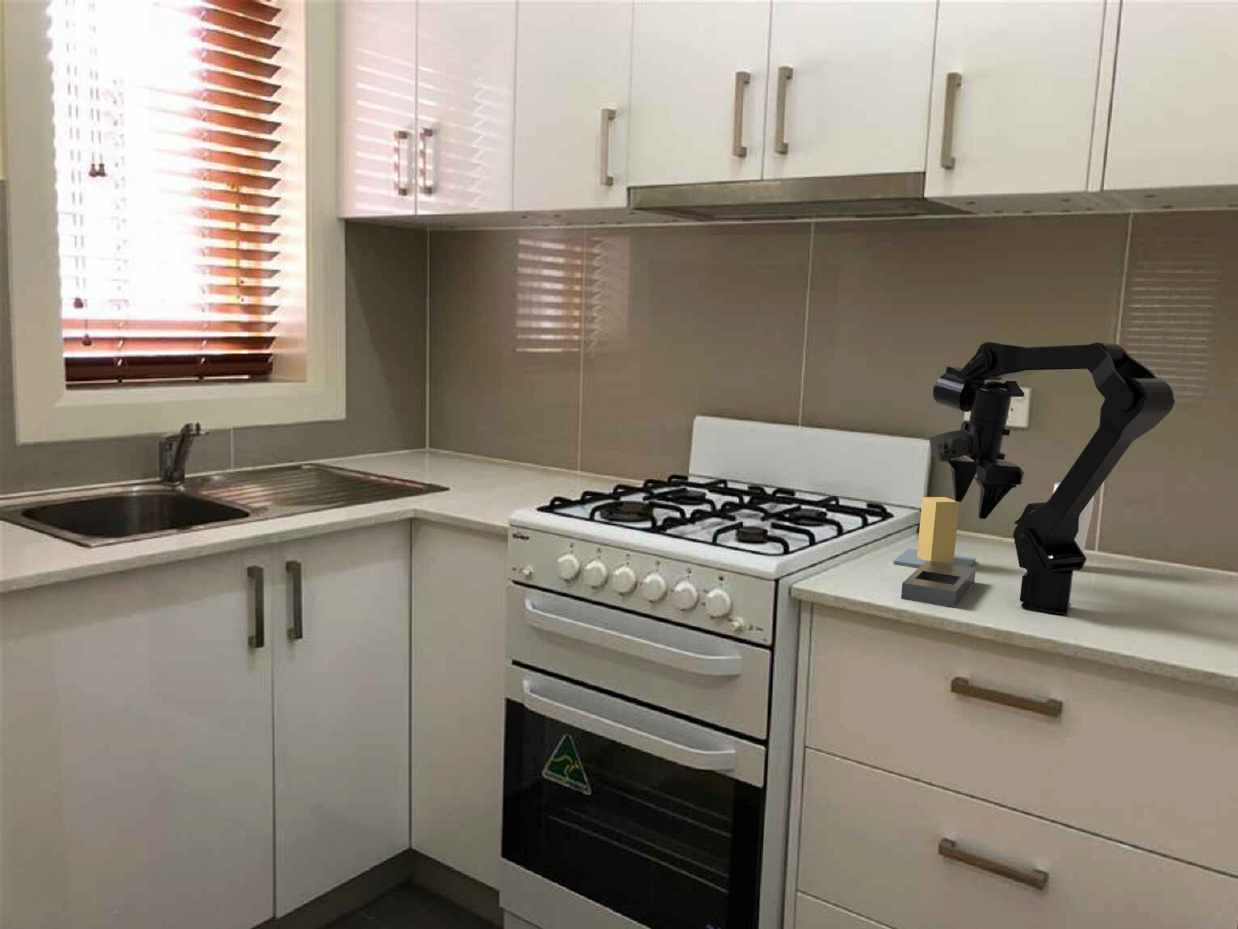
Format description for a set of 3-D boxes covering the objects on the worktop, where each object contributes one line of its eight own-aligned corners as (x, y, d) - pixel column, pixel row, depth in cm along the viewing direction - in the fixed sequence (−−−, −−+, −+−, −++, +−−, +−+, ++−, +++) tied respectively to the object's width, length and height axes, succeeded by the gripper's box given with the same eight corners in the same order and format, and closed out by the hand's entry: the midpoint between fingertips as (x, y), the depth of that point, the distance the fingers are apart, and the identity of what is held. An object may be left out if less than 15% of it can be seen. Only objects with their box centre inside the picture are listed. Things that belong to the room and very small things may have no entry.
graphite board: (974, 582, 166) (976, 567, 166) (954, 607, 150) (955, 591, 150) (925, 574, 170) (927, 560, 169) (901, 598, 154) (902, 582, 154)
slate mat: (975, 561, 181) (975, 558, 181) (963, 575, 171) (963, 571, 170) (908, 551, 187) (909, 548, 187) (893, 563, 176) (893, 560, 176)
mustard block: (953, 562, 177) (959, 502, 175) (930, 562, 176) (936, 502, 174) (939, 556, 181) (945, 497, 180) (916, 556, 180) (922, 497, 179)
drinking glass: (1043, 567, 179) (1052, 485, 177) (1046, 560, 185) (1055, 480, 182) (1084, 573, 176) (1094, 490, 173) (1086, 565, 182) (1096, 485, 179)
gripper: (918, 403, 169) (902, 490, 173) (965, 428, 151) (946, 524, 155) (980, 408, 171) (963, 494, 175) (1034, 433, 153) (1013, 529, 157)
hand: (969, 509), depth 165 cm, fingers open, 9 cm apart
